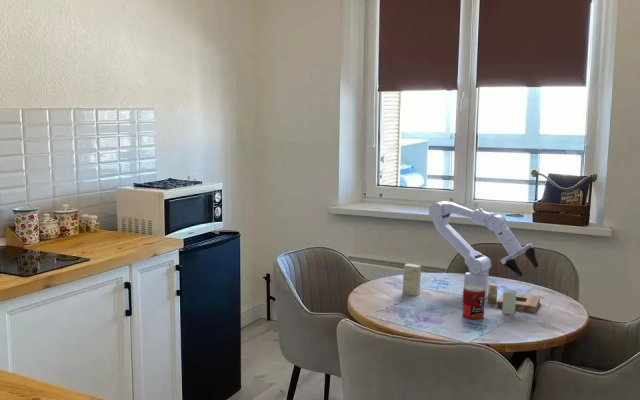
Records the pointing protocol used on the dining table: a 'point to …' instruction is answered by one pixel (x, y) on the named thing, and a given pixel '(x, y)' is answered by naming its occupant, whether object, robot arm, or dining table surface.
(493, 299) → the birch dowel
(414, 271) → the skincare box
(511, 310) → the square peg
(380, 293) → the dining table surface
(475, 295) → the canned food
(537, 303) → the socket block
